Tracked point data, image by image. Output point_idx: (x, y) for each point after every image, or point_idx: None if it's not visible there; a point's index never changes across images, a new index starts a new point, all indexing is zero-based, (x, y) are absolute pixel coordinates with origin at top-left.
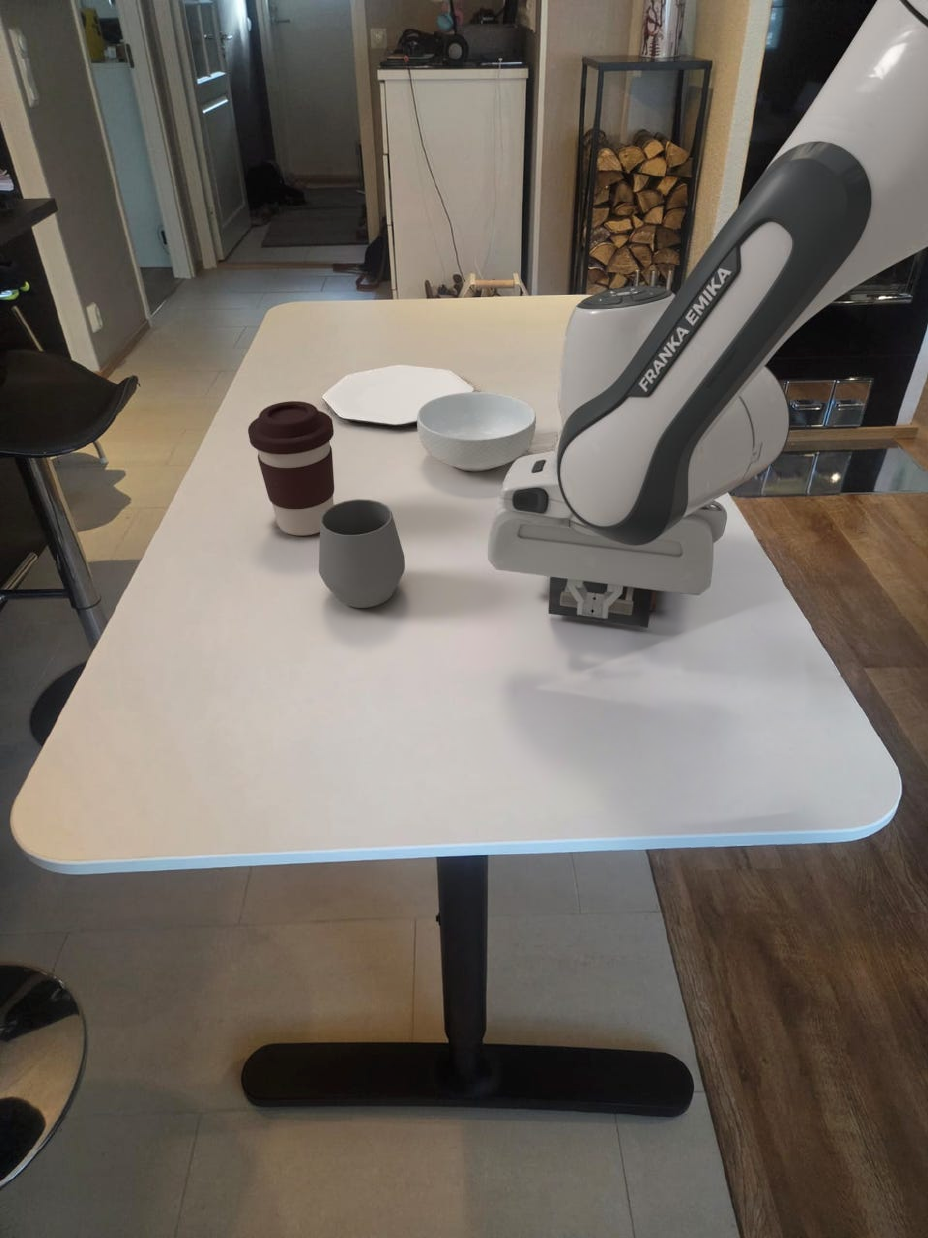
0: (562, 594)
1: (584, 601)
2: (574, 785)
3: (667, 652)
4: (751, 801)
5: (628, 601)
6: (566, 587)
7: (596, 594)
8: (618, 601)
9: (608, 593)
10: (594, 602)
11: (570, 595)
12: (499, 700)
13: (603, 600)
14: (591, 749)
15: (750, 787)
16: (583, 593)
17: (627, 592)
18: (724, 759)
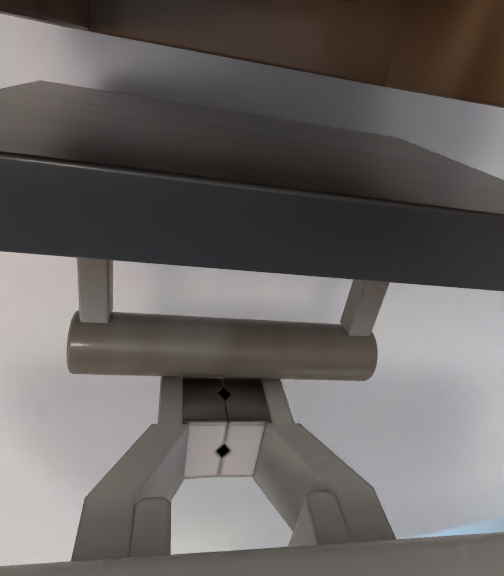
0: (75, 372)
1: (181, 480)
2: (193, 540)
3: None
4: (428, 510)
5: (358, 371)
6: (82, 288)
7: (231, 429)
8: (319, 374)
9: (285, 488)
10: (223, 470)
11: (114, 369)
12: (15, 436)
13: (260, 469)
14: (217, 491)
15: (436, 495)
16: (173, 477)
17: (366, 285)
18: (420, 466)
